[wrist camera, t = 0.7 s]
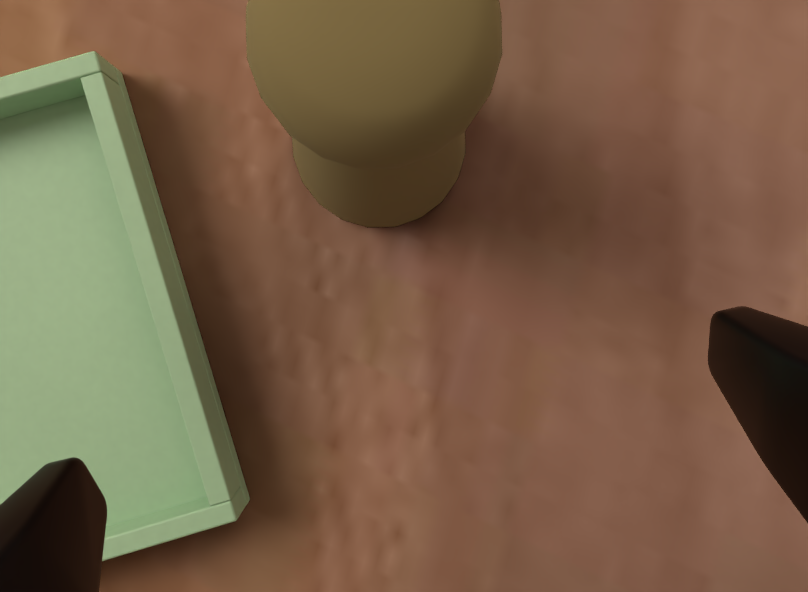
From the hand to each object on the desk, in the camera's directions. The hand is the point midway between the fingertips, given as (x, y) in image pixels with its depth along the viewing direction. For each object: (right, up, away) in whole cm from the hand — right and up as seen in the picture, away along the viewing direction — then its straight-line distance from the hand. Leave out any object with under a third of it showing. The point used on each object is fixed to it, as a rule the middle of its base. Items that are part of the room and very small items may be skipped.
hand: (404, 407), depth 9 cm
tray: (-14, 0, +13) cm, 19 cm away
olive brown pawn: (-1, +7, +14) cm, 15 cm away
